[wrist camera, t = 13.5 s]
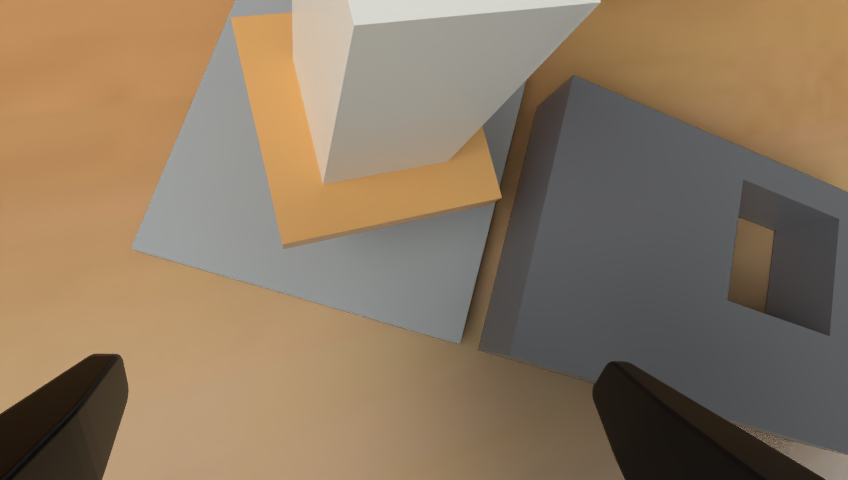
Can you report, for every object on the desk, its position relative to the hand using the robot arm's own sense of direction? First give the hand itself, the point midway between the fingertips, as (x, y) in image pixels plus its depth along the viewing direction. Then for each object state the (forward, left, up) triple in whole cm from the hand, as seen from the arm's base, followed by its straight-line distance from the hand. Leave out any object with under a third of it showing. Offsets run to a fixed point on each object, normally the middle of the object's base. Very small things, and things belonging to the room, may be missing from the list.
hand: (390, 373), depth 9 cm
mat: (+7, +2, -9) cm, 12 cm away
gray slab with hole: (+7, -13, -9) cm, 18 cm away
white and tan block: (+7, +2, -9) cm, 12 cm away
